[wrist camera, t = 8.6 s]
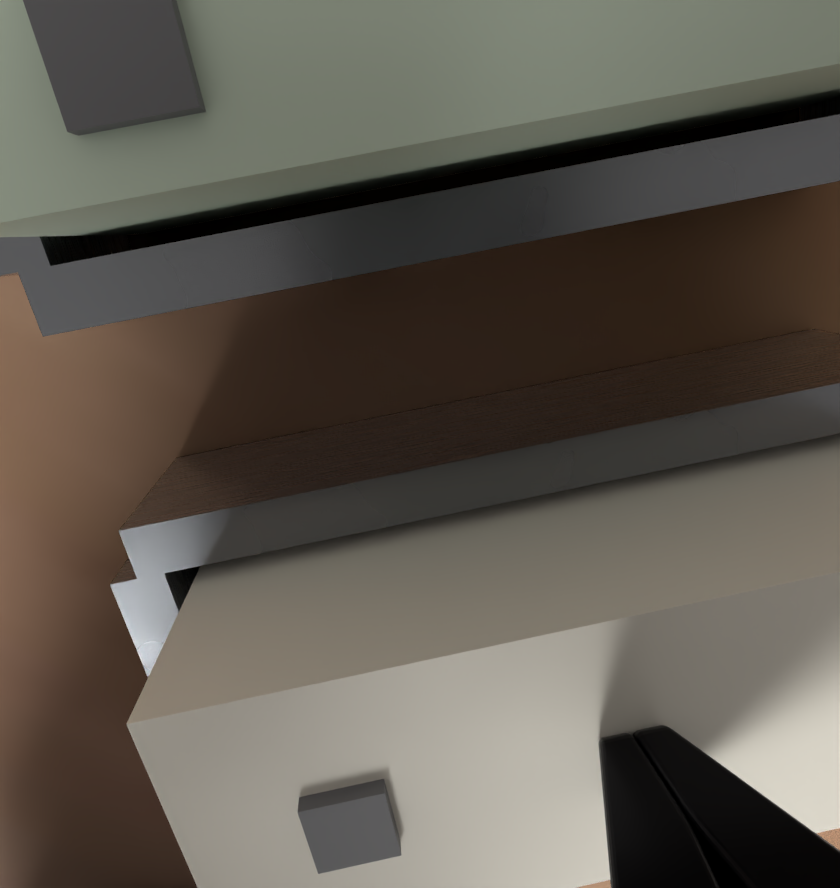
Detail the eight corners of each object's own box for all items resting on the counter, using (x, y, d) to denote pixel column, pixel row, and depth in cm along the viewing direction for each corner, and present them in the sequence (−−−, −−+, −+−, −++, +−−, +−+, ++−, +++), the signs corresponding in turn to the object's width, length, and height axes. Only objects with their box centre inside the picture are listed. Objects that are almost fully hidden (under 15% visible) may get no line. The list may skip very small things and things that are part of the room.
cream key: (281, 676, 13) (228, 983, 8) (227, 507, 12) (119, 738, 6) (782, 569, 13) (1062, 794, 8) (786, 393, 12) (1125, 523, 7)
